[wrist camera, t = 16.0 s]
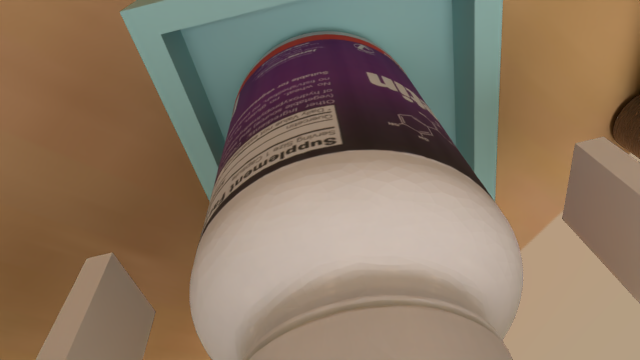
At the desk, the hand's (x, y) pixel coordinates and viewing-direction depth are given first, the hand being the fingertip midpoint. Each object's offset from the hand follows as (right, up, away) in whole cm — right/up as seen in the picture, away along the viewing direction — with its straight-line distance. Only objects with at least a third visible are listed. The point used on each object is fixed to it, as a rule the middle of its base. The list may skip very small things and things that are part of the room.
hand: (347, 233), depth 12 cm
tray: (0, +5, +8) cm, 10 cm away
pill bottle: (-1, +5, +7) cm, 9 cm away
